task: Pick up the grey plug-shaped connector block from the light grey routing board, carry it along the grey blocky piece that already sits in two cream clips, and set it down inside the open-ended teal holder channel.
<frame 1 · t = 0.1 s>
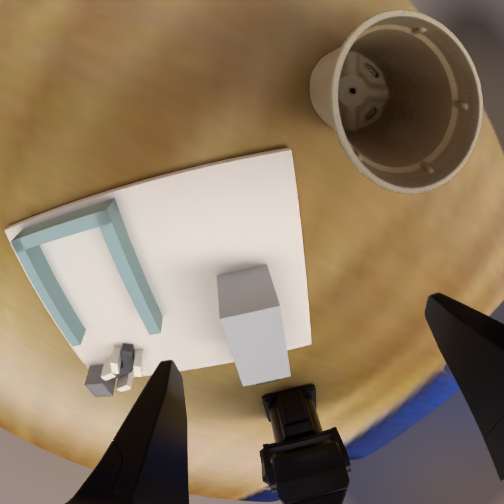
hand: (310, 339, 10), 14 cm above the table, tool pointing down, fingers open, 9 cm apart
clips: (125, 369, 27), on the board, point 1 cm above the table
connector: (250, 308, 27), point 1 cm above the table, touching board
holder: (90, 275, 23), resting on board
grey blocky piece: (112, 371, 27), on the board, point 2 cm above the table
flower pot: (347, 91, 19), on the table
board: (164, 291, 26), on the table
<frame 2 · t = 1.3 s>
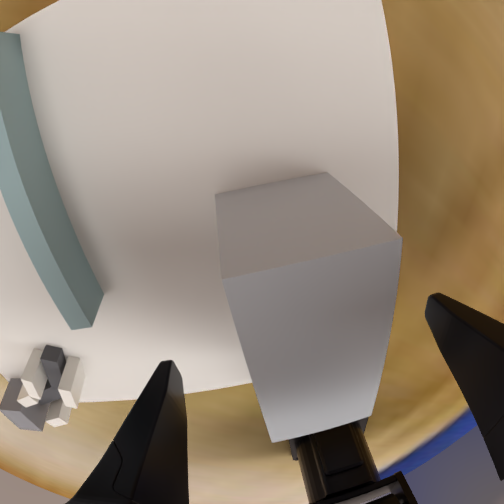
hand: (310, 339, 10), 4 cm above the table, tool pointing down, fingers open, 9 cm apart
clips: (54, 390, 13), on the board, point 1 cm above the table
connector: (286, 276, 13), point 1 cm above the table, touching board
grey blocky piece: (35, 392, 13), on the board, point 2 cm above the table
board: (105, 239, 12), on the table
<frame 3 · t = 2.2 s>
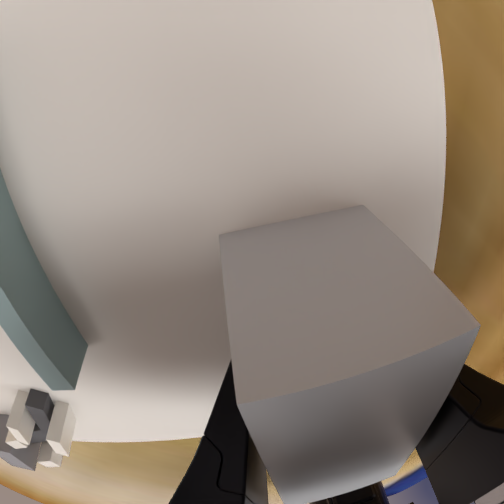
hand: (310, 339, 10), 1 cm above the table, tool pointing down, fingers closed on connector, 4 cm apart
clips: (43, 433, 11), on the board, point 1 cm above the table
connector: (305, 326, 10), point 1 cm above the table, touching board, gripper
grey blocky piece: (23, 433, 11), on the board, point 2 cm above the table
board: (85, 283, 9), on the table
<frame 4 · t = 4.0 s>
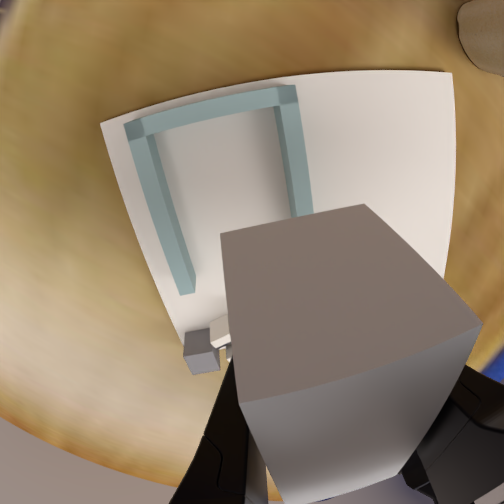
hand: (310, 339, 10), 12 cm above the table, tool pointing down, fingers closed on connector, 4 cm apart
clips: (243, 329, 23), on the board, point 1 cm above the table
connector: (306, 325, 10), point 12 cm above the table, touching gripper
holder: (228, 188, 19), resting on board
grey blocky piece: (224, 334, 23), on the board, point 2 cm above the table
flower pot: (479, 37, 15), on the table
board: (314, 217, 21), on the table
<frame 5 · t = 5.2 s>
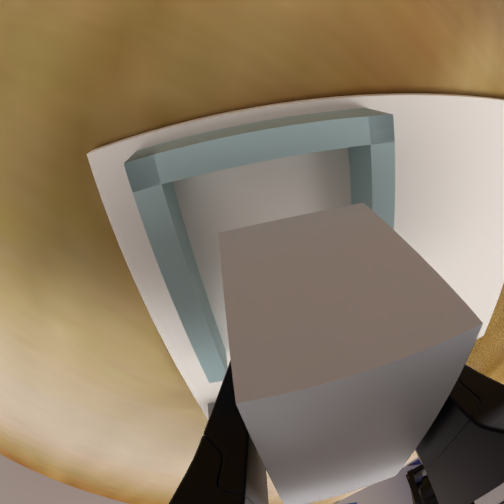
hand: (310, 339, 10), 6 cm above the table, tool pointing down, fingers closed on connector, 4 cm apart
connector: (305, 325, 10), point 5 cm above the table, touching gripper
holder: (277, 250, 14), resting on board
board: (375, 276, 16), on the table
when the fingers open (3 cm above the table, at t = 6.0 s): connector drops 2 cm, resting on board.
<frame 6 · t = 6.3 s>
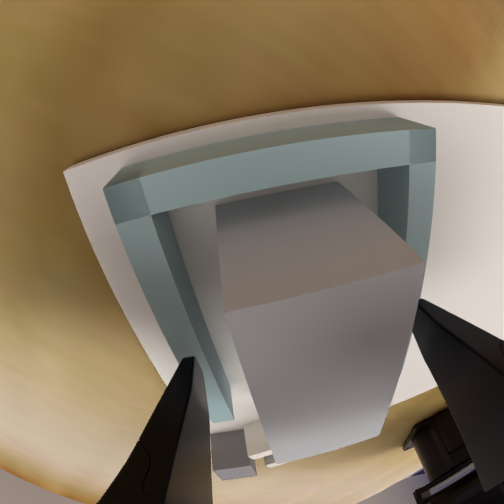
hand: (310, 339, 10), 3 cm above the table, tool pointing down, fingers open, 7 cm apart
clips: (287, 435, 16), on the board, point 1 cm above the table
connector: (291, 291, 12), point 1 cm above the table, touching board
holder: (290, 282, 12), resting on board
grey blocky piece: (264, 442, 16), on the board, point 2 cm above the table
board: (395, 303, 14), on the table
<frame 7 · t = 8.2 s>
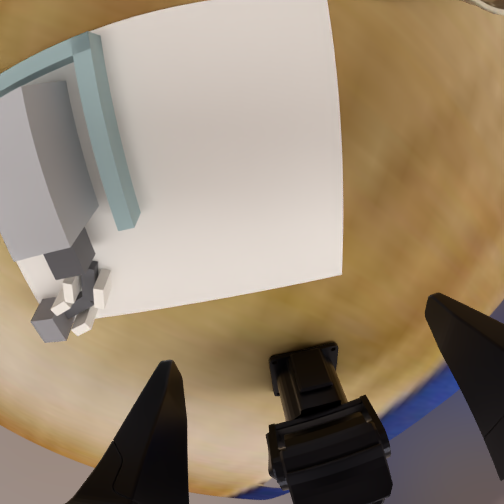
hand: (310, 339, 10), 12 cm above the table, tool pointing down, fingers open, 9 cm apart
clips: (84, 299, 19), on the board, point 1 cm above the table
connector: (53, 154, 15), point 1 cm above the table, touching board
holder: (51, 147, 15), resting on board
grey blocky piece: (67, 303, 19), on the board, point 2 cm above the table
board: (146, 175, 18), on the table
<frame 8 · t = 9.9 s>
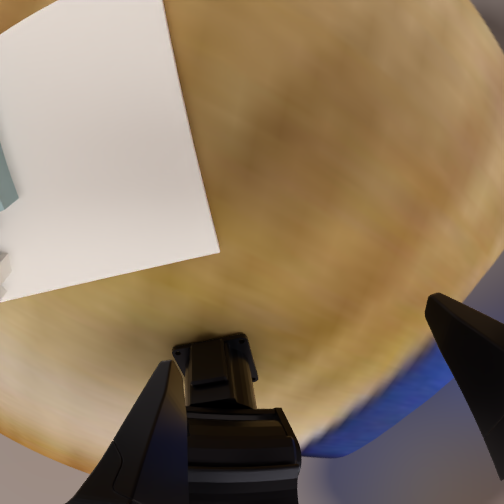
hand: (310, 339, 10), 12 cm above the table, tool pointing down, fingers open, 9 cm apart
board: (22, 164, 16), on the table
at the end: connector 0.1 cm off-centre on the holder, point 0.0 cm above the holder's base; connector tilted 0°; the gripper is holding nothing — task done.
